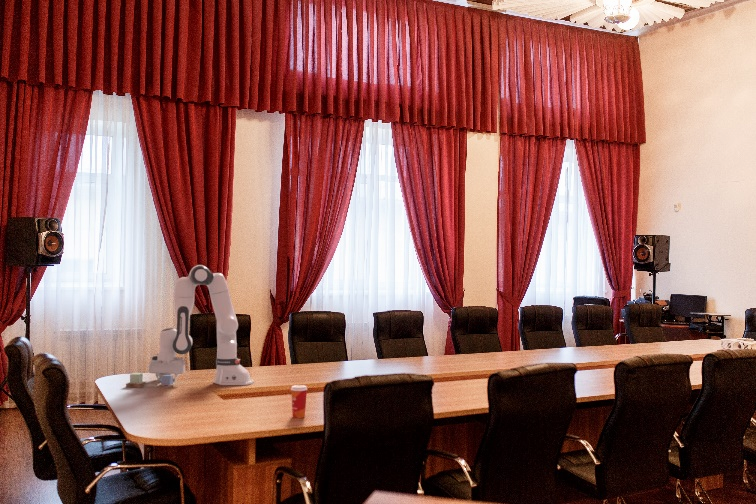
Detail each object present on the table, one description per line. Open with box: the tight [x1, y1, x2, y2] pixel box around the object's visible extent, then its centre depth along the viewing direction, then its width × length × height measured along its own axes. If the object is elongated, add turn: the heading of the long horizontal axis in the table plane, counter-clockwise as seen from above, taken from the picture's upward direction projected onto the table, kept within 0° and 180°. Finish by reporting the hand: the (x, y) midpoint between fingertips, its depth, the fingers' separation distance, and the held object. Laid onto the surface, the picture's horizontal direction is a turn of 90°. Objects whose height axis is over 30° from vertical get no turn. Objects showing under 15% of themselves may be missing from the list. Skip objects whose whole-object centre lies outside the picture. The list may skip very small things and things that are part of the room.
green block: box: [129, 372, 143, 384], centre depth 386 cm, size 5×5×5 cm
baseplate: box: [125, 381, 147, 389], centre depth 386 cm, size 8×8×2 cm
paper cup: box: [290, 384, 308, 419], centre depth 319 cm, size 8×8×14 cm
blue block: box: [160, 374, 174, 387], centre depth 392 cm, size 5×5×5 cm
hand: (166, 381), depth 392 cm, fingers open, 7 cm apart
